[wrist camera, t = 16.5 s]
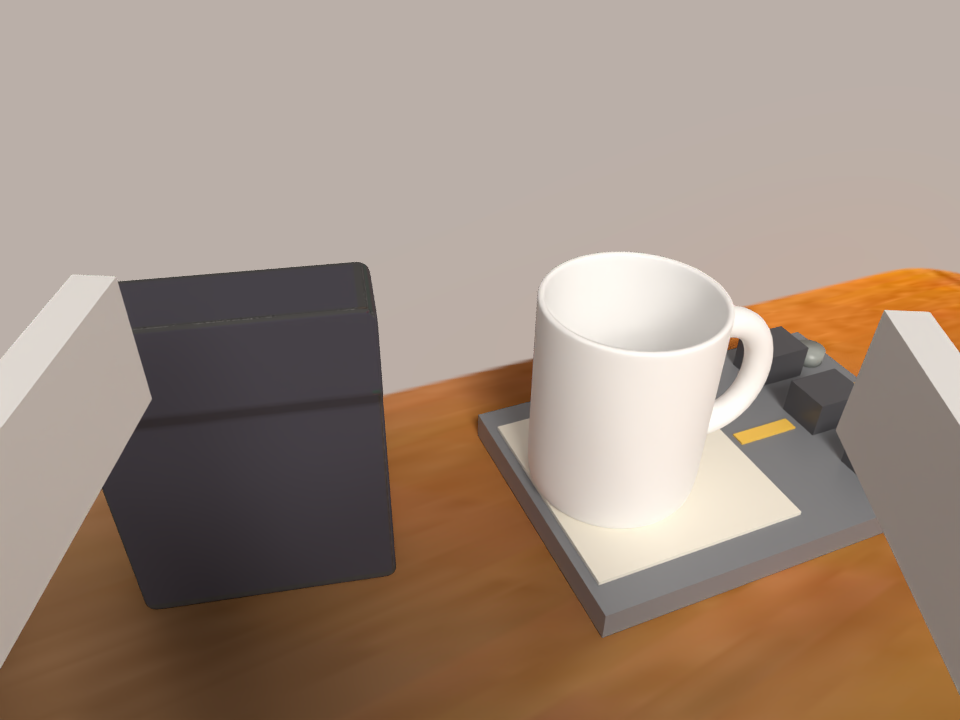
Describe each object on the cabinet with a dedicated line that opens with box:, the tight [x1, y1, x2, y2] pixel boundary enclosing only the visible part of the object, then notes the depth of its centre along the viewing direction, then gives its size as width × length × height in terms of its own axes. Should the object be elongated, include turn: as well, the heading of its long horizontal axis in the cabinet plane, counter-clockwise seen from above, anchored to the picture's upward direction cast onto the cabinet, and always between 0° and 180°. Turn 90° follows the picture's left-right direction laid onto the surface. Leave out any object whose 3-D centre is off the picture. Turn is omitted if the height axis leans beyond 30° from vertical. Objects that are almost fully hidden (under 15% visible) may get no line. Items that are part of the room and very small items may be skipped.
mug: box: [528, 252, 773, 529], centre depth 37 cm, size 12×8×10 cm
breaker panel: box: [478, 326, 883, 638], centre depth 42 cm, size 22×14×4 cm, turn 112°
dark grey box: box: [102, 262, 396, 609], centre depth 33 cm, size 11×4×15 cm, turn 101°
